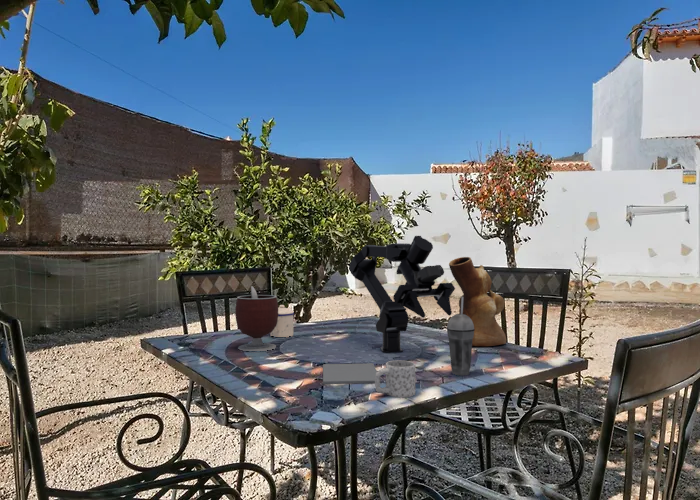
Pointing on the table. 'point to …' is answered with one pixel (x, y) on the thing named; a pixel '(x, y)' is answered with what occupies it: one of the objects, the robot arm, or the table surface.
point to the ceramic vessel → (479, 302)
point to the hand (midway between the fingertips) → (437, 315)
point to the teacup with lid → (283, 323)
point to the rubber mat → (349, 373)
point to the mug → (397, 379)
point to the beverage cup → (460, 342)
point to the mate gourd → (256, 319)
